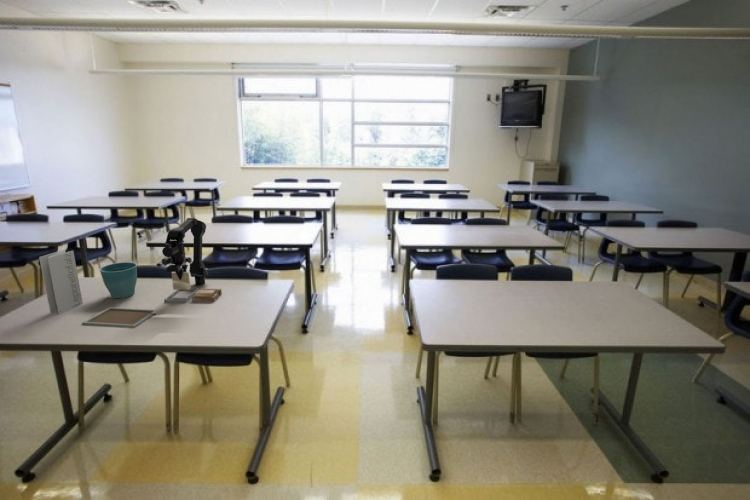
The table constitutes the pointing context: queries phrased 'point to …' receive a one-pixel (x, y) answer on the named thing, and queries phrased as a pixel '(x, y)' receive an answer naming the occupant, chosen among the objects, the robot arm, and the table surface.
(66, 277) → the brochure
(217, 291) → the walnut rack
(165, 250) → the robot arm
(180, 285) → the birch sheet
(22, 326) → the table surface
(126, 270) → the flower pot
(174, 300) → the gray tray
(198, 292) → the upper oak offcut
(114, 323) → the picture frame
